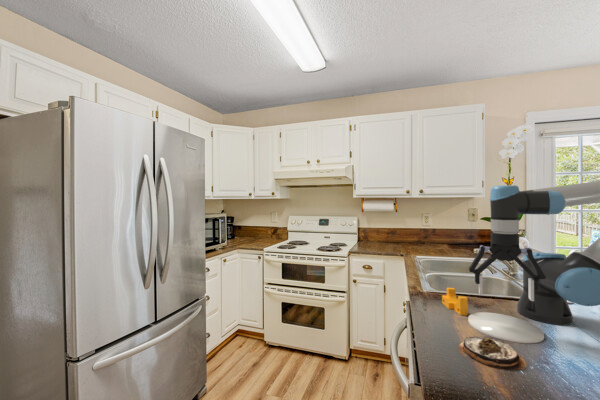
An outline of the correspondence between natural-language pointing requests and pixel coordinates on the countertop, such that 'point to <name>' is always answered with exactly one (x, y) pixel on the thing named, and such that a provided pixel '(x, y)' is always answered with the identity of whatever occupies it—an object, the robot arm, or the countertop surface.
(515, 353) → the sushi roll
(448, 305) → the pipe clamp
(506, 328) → the plate
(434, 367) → the countertop surface
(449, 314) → the countertop surface
